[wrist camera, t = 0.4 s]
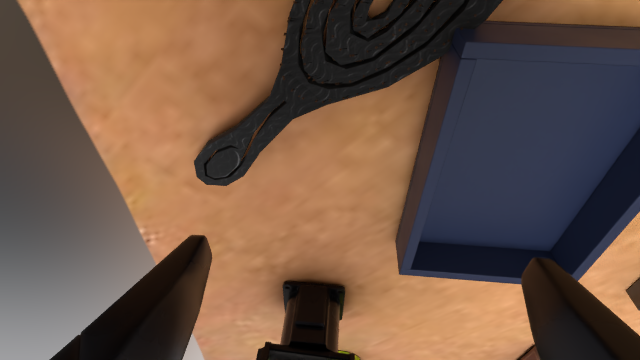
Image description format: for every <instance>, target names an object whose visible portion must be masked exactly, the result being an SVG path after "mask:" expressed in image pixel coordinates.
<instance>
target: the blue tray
mask: <svg viewBox="0 0 640 360" xmlns="http://www.w3.org/2000/svg"><path fill="white" fill-rule="evenodd" d="M639 212H640V27H618V26H594V25H570V24H546V23H522V22H498V21H484V22H483V23H482V24H481V25H479V26H478V27H477V28H476V29H464V28H463V30H460V28H456V29H455V33H454V36H453V40H452V44H451V47H450V50H449V51H448V52H446V53H445V54H444V55H443V56H441V60H440V64H439V68H438V72H437V76H436V80H435V84H434V88H433V92H432V96H431V100H430V104H429V108H428V112H427V116H426V120H425V124H424V128H423V132H422V136H421V141H420V145H419V149H418V153H417V157H416V161H415V165H414V169H413V173H412V177H411V181H410V185H409V189H408V193H407V197H406V201H405V205H404V209H403V213H402V217H401V221H400V225H399V229H398V234H397V238H396V250H397V259H398V269H399V274H400V275H412V276H424V277H437V278H449V279H462V280H474V281H487V282H499V283H512V284H521V276H522V273H523V272H524V270H525V269H526V267H527V265H528V264H529V262H530V261H531V259H532V258H534V257H546V258H551V259H552V260H554V261H555V262H556V263H557V264H559V265H560V266H561V267H562V268H563V269H564V270H565V271H566V272H568V273H569V274H570V275H571V276H572V277H573V278H574V279H576V280H577V281H578V280H579V279H580V278H581V277H582V276H583V275H584V274H585V273H586V271H587V270H588V269H589V268H590V267H591V266H592V265H593V263H594V262H595V261H596V260H597V259H598V258H599V257H600V256H601V254H602V253H603V252H604V251H605V250H606V249H607V248H608V247H609V245H610V244H611V243H612V242H613V241H614V240H615V239H616V238H617V236H618V235H619V234H620V233H621V232H622V231H623V230H624V228H625V227H626V226H627V225H628V224H629V223H630V222H631V221H632V219H633V218H634V217H635V216H636V215H637V214H638V213H639Z"/></svg>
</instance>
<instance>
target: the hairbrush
mask: <svg viewBox="0 0 640 360" xmlns="http://www.w3.org/2000/svg"><path fill="white" fill-rule="evenodd" d="M355 1H356V0H337V1H336V2H335V4H334V6H333V8H332V9H331V12H330V14H329V16H328V13H329V9H330V7H331V5H332V3H333V0H314V2H313V4H312V6H311V8H310V10H309V14H308V18H307V23H306V27H305V29H304V30H305V31H304V35H303V39H302V43H301V52H302V56H301V53H300V42H301V35H302V29H303V22H304V18H305V15H306V12H307V9H308V6H309V3H310V0H295V1H294V4H293V6H292V9H291V11H290V16H289V17H288V19H289V20H287V21H288V28H287V33H284V35H286V40H285V46H284V48H281V50H284V52H283V58H282V63H281V64H280V66H281V68H280V70H279V73H278V75H277V78H276V81H275V83H274V86H273V89H272V91H271V94H270V96H269V97H268V98H267V99H266V100H264V101H263V102H262V103H261V104H260V105H259V106H258V107H257V108H255V109H254V110H253V111H252V112H251V113H250V114H249V115H248V116H247V117H245V118H244V119H243V120H242V121H241V122H240V123H239V124H237V125H236V126H234V127H232V128H230V129H229V130H227V131H225V132H223V133H222V134H220V135H218V136H216V137H215V138H213V139H211V140H209V141H208V142H207V144H206V145H205V147H204V148H203V150H202V151H201V152H200V154H199V155H198V156H197V158H196V159H195V161H194V165H195V170H196V176H197V177H198V178H199V179H200V180H201V181H203V182H204V183H205V184H206V185H221V186H227V185H229V184H230V183H232V182H234V181H236V180H237V179H239V178H241V177H243V176H244V175H245V173H246V172H247V171H248V169H249V168H250V166H251V165H252V163H253V162H254V161H255V159H256V158H257V156H258V155H259V153H260V152H261V151H262V150H263V149H264V148H265V147H266V146H267V145H268V144H269V143H270V142H271V141H272V140H273V139H274V138H275V137H276V136H277V135H278V134H279V133H280V132H281V131H282V130H283V129H284V128H285V127H286V126H287V125H288V124H289V123H290V122H291V121H292V120H293V119H294V118H297V117H299V116H301V115H304V114H306V113H308V112H311V111H313V110H316V109H318V108H320V107H323V106H325V105H328V104H331V103H335V102H338V101H341V100H345V99H348V98H352V97H355V96H359V95H362V94H366V93H369V92H373V91H376V90H379V89H383V88H386V87H389V86H390V85H392V84H394V83H396V82H397V81H399V80H401V79H403V78H404V77H406V76H408V75H410V74H412V73H413V72H415V71H417V70H419V69H420V68H422V67H424V66H426V65H427V64H429V63H431V62H433V61H434V60H436V59H438V58H440V57H441V56H443V55H444V54H445V53H446V52H448V51H449V50H450V47H451V44H452V40H453V36H454V33H455V29H456V28H460V30H463V28H464V29H476V28H477V27H478V26H479V25H481V24H482V23H483V22H484V21H485V20H486V19H487V18H488V17H489V16H490V15H491V13H492V12H493V11H494V10H495V9H496V8H497V6H498V5H499V4H500V3H501V2H502V1H503V0H436V2H435V3H434V5H433V6H432V7H431V8H430V9H428V8H429V7H430V5H431V4H432V3H433V1H434V0H412V2H411V3H410V5H409V6H408V7H407V8H406V9H405V10H404V8H405V7H406V5H407V4H408V2H409V1H410V0H393V2H392V3H391V4H390V6H389V7H388V9H387V10H386V11H385V12H383V13H381V14H379V15H377V16H375V17H373V18H372V19H371V18H370V17H369V15H368V12H369V8H370V5H371V3H372V2H373V0H359V1H358V3H357V4H356V8H355V13H354V19H353V22H354V24H352V13H353V6H354V3H355ZM427 9H428V10H427ZM403 10H404V11H403ZM402 11H403V12H402ZM327 17H328V24H327V37H326V48H325V46H324V30H325V25H326V21H327ZM395 18H396V19H395ZM394 19H395V20H394ZM392 20H394V21H393V22H392V23H391V24H390V25H389V26H388V27H386V28H384V29H382V30H381V31H379V32H377V31H378V30H380V29H381V28H383V27H384V26H385V25H387V24H388V23H390V22H391V21H392ZM447 20H448V21H447ZM446 21H447V22H446ZM445 22H446V23H445ZM444 23H445V24H444ZM443 24H444V25H443ZM442 25H443V26H442ZM441 26H442V27H441ZM376 32H377V33H376ZM374 33H375V34H374ZM400 35H401V36H400ZM399 36H400V37H399ZM398 37H399V38H398ZM397 38H398V39H397ZM395 39H397V40H396V41H394V40H395ZM393 41H394V42H393ZM390 43H391V44H390ZM302 58H303V59H302ZM332 58H333V59H334V60H335V61H334V60H333V59H332ZM360 60H362V61H361V62H356V61H360ZM308 74H309V75H308ZM283 101H284V102H283ZM276 107H277V108H276ZM269 113H271V114H270V115H269V117H268V118H267V120H266V121H265V123H264V124H263V126H262V127H261V129H260V130H259V132H258V133H257V135H256V137H255V138H254V140H253V142H252V144H251V147H250V149H249V151H248V153H247V155H246V156H245V157H244V158H243V156H244V154H245V152H246V150H247V148H248V145H249V143H250V141H251V139H252V136H253V134H254V132H255V131H256V130H257V129H258V127H259V126H260V125H261V123H262V122H263V121H264V120H265V118H266V117H267V116H268V114H269ZM216 150H218V151H217V152H216V153H215V154H214V155H213V156H212V158H211V159H210V161H208V159H209V157H210V156H211V155H212V154H213V153H214V152H215V151H216ZM242 158H243V160H242ZM241 160H242V161H241Z"/></svg>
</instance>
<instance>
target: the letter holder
mask: <svg viewBox="0 0 640 360" xmlns="http://www.w3.org/2000/svg"><path fill="white" fill-rule="evenodd" d="M520 360H540V358H539V355H538V352H537V349H536V346H534V347H533V348H532V349H531V350H530V351H529V352H528V353H527V354H526V355H524V356H523V357H522V358H521V359H520Z"/></svg>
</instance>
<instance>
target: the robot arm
mask: <svg viewBox="0 0 640 360" xmlns="http://www.w3.org/2000/svg"><path fill="white" fill-rule="evenodd" d="M211 262H212V253H211V249H210V246H209V243H208V240H207V238H206V237H205V236H203V235H191V236H189V237H188V238H187V239H186V240H185V241H183V242H182V243H181V244H180V245H179V246H178V247H177V248H176V249H174V250H173V251H172V252H171V253H170V254H169V255H168V256H167V257H165V258H164V259H163V260H162V261H161V262H160V263H159V264H158V265H156V266H155V267H154V268H153V269H152V270H151V271H150V272H149V273H148V274H146V275H145V276H144V277H143V278H142V279H141V280H140V281H138V282H137V283H136V284H135V285H134V286H133V287H132V288H131V289H129V290H128V291H127V292H126V293H125V294H124V295H123V296H122V297H120V299H118V300H117V301H116V302H115V303H114V304H112V305H111V306H110V307H109V308H108V309H107V310H106V311H105V312H103V313H102V314H101V315H100V316H99V317H98V318H97V319H96V320H95V321H94V322H92V323H91V324H90V325H89V326H88V327H87V328H85V329H84V330H83V331H82V332H81V335H78V336H76V337H75V338H74V339H73V340H72V341H71V342H70V343H68V344H67V345H66V346H65V347H64V348H63V349H62V350H60V351H59V352H58V353H57V354H56V355H55V356H53V357H52V358H51V359H50V360H182V359H183V356H184V353H185V351H186V348H187V345H188V342H189V340H190V337H191V334H192V331H193V329H194V326H195V323H196V320H197V317H198V314H199V311H200V307H201V304H202V299H203V295H204V291H205V287H206V283H207V278H208V274H209V270H210V266H211ZM521 284H522V289H523V294H524V299H525V303H526V308H527V313H528V318H529V322H530V327H531V331H532V335H533V339H534V342H535V346H536V349H537V352H538V355H539V358H540V360H640V336H639V335H638V334H637V333H636V332H635V331H634V330H632V329H631V328H630V327H629V326H628V325H627V324H626V323H624V322H623V321H622V320H621V319H620V318H619V317H618V316H616V315H615V314H614V313H613V312H612V311H611V310H610V309H609V308H607V307H606V306H605V305H604V304H603V303H602V302H601V301H599V300H598V299H597V298H596V297H595V296H594V295H593V294H591V293H590V292H589V291H588V290H587V289H586V288H585V287H584V286H582V285H581V284H580V283H579V282H578V281H577V280H576V279H574V278H573V277H572V276H571V275H570V274H569V273H568V272H566V271H565V270H564V269H563V268H562V267H561V266H560V265H559V264H557V263H556V262H555V261H554V260H552V259H551V258H546V257H534V258H532V259H531V261H530V262H529V264H528V265H527V267H526V269H525V270H524V272H523V273H522V276H521ZM283 295H284V305H285V319H284V325H283V331H282V337H281V343H280V345H279V344H272V343H271V342H266V343H265V347H263V348H261V349H258V353H257V358H256V360H355V354H353V353H349V354H346V353H338V337H339V320H342V315H343V306H344V298H345V287H343V286H337V285H324V284H312V283H300V282H284V283H283Z"/></svg>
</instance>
